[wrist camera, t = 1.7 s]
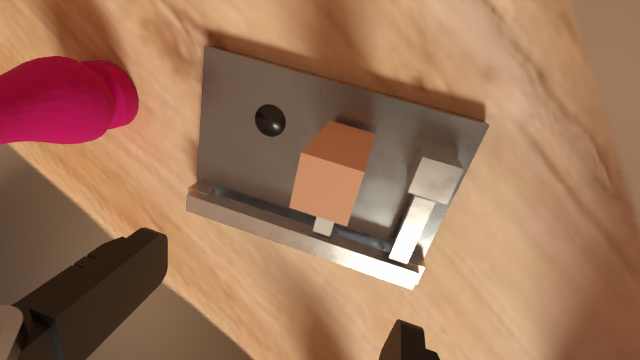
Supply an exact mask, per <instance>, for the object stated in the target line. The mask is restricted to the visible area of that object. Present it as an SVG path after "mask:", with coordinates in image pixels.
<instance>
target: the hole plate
mask: <svg viewBox="0 0 640 360" xmlns="http://www.w3.org/2000/svg"><path fill="white" fill-rule="evenodd" d="M330 121H334V122H337V123H341V124H344V125H347V126H351V127H354V128H358V129H361V130H364V131H368V132H371V133H375V136H374V140H373V144H372V147H371V151H370V155H369V158H368V162H367V166H366V170H365V173H364V176H363V179H362V182H361V185H360V188H359V191H358V194H357V198H356V201H355V204H354V207H353V210H352V213H351V216H350V219H349V222H348V225H347V227H346V226H343V225H340V224H337V223H334V225H333V229H332V232H331V235H330V237H329V236H326V235H323V234H320V233H317V232H314V231H313V228H314V224H315V221H316V216H313V215H310V214H307V213H304V212H301V211H298V210H295V209H292V208H289V206H290V201H291V197H292V192H293V187H294V183H295V178H296V173H297V169H298V164H299V160H300V155H301V152H302V151H303V150H304V149H305V148H306V147H307V146H308V144H309V143H310V142H311V141H312V140H313V139H314V138H315V137H316V136H317V135H318V134H319V132H320V131H321V130H322V129H323V128H324V127H325V126H326V125H327V124H328V123H329V122H330ZM488 127H489V124H488V123H486V122H485V121H482V120H478V119H474V118H471V117H467V116H464V115H460V114H456V113H453V112H449V111H446V110H442V109H438V108H435V107H431V106H428V105H424V104H420V103H417V102H413V101H410V100H406V99H402V98H399V97H395V96H392V95H388V94H384V93H381V92H377V91H374V90H370V89H366V88H363V87H359V86H356V85H352V84H348V83H345V82H341V81H338V80H334V79H330V78H327V77H323V76H320V75H316V74H312V73H309V72H305V71H302V70H298V69H294V68H291V67H287V66H284V65H280V64H276V63H273V62H269V61H266V60H262V59H258V58H255V57H251V56H248V55H244V54H240V53H237V52H233V51H230V50H226V49H222V48H219V47H215V46H204V64H203V83H202V101H201V120H200V139H199V157H198V176H197V182H196V183H195V184H193V185H192V186H190V187H189V189H188V194H187V201H186V211H189V212H191V213H194V214H197V215H200V216H203V217H206V218H209V219H211V220H214V221H217V222H220V223H223V224H226V225H229V226H232V227H234V228H237V229H240V230H243V231H246V232H249V233H252V234H254V235H257V236H260V237H263V238H266V239H269V240H272V241H275V242H277V243H280V244H283V245H286V246H289V247H292V248H295V249H298V250H300V251H303V252H306V253H309V254H312V255H315V256H318V257H320V258H323V259H326V260H329V261H332V262H335V263H338V264H341V265H343V266H346V267H349V268H352V269H355V270H358V271H361V272H363V273H366V274H369V275H372V276H375V277H378V278H381V279H384V280H386V281H389V282H392V283H395V284H398V285H401V286H404V287H407V288H409V289H412V288H413V286H414V284H417V282H418V280H419V278H420V276H421V274H422V272H423V271H424V269H425V264H424V256H425V254H426V252H427V250H428V248H429V246H430V244H431V242H432V240H433V238H434V236H435V234H436V232H437V230H438V228H439V226H440V224H441V222H442V220H443V218H444V216H445V214H446V212H447V210H448V208H449V206H450V204H451V202H452V200H453V198H454V196H455V194H456V192H457V190H458V188H459V186H460V184H461V182H462V180H463V178H464V176H465V174H466V172H467V170H468V168H469V166H470V164H471V161H472V159H473V157H474V155H475V153H476V151H477V149H478V147H479V145H480V143H481V141H482V139H483V137H484V135H485V133H486V131H487V129H488Z"/></svg>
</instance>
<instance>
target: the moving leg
mask: <svg viewBox="0 0 640 360" xmlns="http://www.w3.org/2000/svg"><path fill="white" fill-rule="evenodd" d="M374 136H375V133H371V132H368V131H364V130H361V129H358V128H354V127H351V126H347V125H344V124H341V123H337V122H334V121H330V122H329V123H328V124H327V125H326V126H325V127H324V128H323V129H322V130H321V131H320V132H319V134H318V135H317V136H316V137H315V138H314V139H313V140H312V141H311V142H310V143H309V144H308V146H307V147H306V148H305V149H304V150H303V151H302V152H301V155H300V160H299V164H298V169H297V173H296V178H295V183H294V187H293V192H292V197H291V201H290V206H289V208H292V209H295V210H298V211H301V212H304V213H307V214H310V215H313V216H316V221H315V224H314V228H313V231H314V232H317V233H320V234H323V235H326V236H329V237H330V235H331V232H332V229H333V225H334V223H337V224H340V225H343V226H346V227H347V225H348V222H349V219H350V216H351V213H352V210H353V207H354V204H355V201H356V198H357V194H358V191H359V188H360V185H361V182H362V179H363V176H364V173H365V170H366V166H367V162H368V158H369V155H370V151H371V147H372V144H373V140H374Z"/></svg>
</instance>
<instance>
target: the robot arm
mask: <svg viewBox="0 0 640 360" xmlns="http://www.w3.org/2000/svg"><path fill="white" fill-rule="evenodd" d="M167 267H168V239H167V236H166V235H165V234H162V233H159V232H156V231H154V230H151V229H148V228H140V229H139V230H137V231H136V232H134V233H133V234H132V235H130V236H129V237H127V238H125V237H120V238H117V239H115V240H112V241H109V242H107V243H104V244H102V245H101V246H99V247H98V248H96V249H95V250H93V251H92V252H90V253H89V254H88V255H87V257H83V258H82V259H80V260H79V261H77V262H76V263H75V264H74V265H73V266H70V267H69V268H67V269H65V270H64V271H62V272H61V273H59V274H58V275H56V276H55V277H54V278H52V279H50V280H49V281H48V282H46V283H45V284H43V285H42V286H40V287H39V288H37V289H36V290H34V291H33V292H31V293H30V294H28V295H27V296H25V297H24V298H23V299H21V300H20V301H18V302H16V303H15V304H13V305H11V306H8V305H0V360H85V359H86V358H88V357H89V356H90V355H91V354H92V353H93V352H94V351H95V349H97V348H98V346H100V345H101V343H103V341H104V340H105V339H106V338H107V337H108V336H109V335H110V334H111V333H112V332H113V331H114V330H115V329H116V328H117V327H118V326H119V325H120V324H121V323H122V322H123V321H124V320H125V319H126V318H127V317H128V316H129V315H130V314H131V313H132V312H133V311H134V310H135V309H136V308H137V307H138V306H139V305H140V304H141V303H142V302H143V301H144V300H145V299H146V298H147V297H148V296H149V295H150V294H151V293H152V292H153V291H154V290H155V289H156V288H157V287H158V286H159V285H160V284H161V282H162V281H163V279H164V277H165V275H166V272H167ZM379 360H440V359H439V357H438V354H437V353H436V352H434V351H431V350H428V349H426V348H425V337H424V330H423V328H422V327H419V326H416V325H413V324H411V323H408V322H405V321H402V320H399V319H398V320H397V321H396V322H395V324H394V326H393V328H392V330H391V332H390V334H389V336H388V338H387V340H386V342H385V344H384V346H383V348H382V350H381V353H380V357H379Z"/></svg>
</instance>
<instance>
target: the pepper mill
mask: <svg viewBox="0 0 640 360" xmlns="http://www.w3.org/2000/svg"><path fill="white" fill-rule="evenodd" d="M137 110H138V97H137V93H136V90H135V87H134V85H133V84H132V82H131V80H130V78H129V77H128V76H127V75H126V74H125V72H124V71H122V70H121V69H120V68H119V67H117V66H116V65H114V64H112V63H110V62H107V61H83V62H78V61H76V60H73V59H70V58H68V57H62V56H51V57H43V58H37V59H34V60H31V61H28V62H25V63H22V64H20V65H19V66H17V67H15V68H13V69H11V70H10V71H8V72H6V73H4V74H2V75H0V144H6V143H12V142H22V141H35V142H47V143H56V144H77V143H84V142H88V141H92V140H95V139H97V138H99V137H101V136H102V135H103V134H104V133H105V132H106V131H107V130H108V129H113V128H117V127H120V126H124V125H127V124H129V123H130V122H131V121H132V120H133V119H134V118H135V116H136V114H137Z"/></svg>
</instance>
